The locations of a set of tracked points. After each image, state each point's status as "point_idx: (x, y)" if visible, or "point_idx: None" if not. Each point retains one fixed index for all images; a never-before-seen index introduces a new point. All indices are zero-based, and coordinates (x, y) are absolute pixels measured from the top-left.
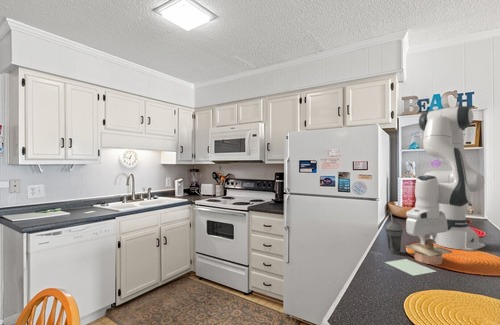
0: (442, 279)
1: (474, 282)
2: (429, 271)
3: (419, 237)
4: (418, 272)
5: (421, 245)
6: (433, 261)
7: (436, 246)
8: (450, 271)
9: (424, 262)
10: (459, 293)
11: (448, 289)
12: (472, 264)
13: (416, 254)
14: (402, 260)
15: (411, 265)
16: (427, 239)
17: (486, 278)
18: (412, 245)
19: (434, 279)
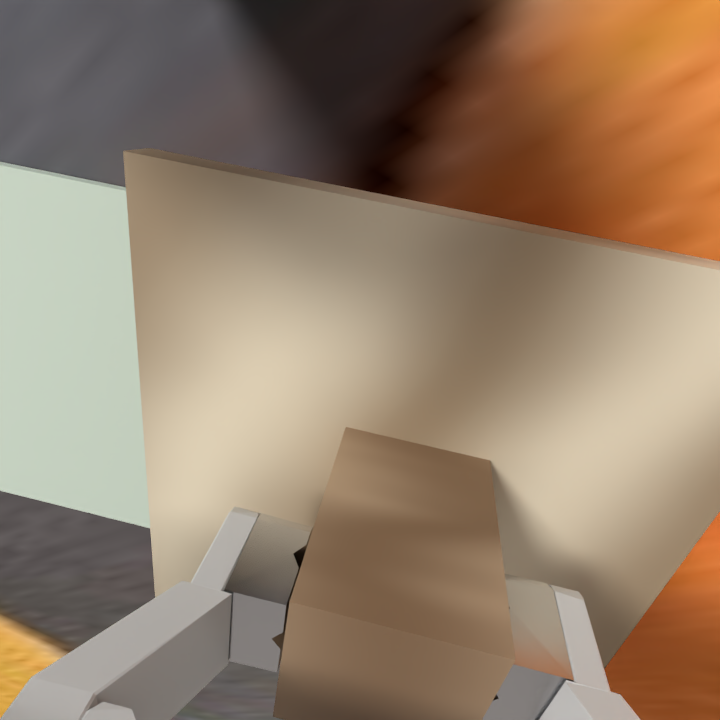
0: (109, 581)
1: (264, 683)
2: (115, 507)
3: (93, 650)
4: (7, 467)
5: (475, 363)
6: None
7: (664, 547)
8: None
9: None
10: (44, 661)
11: (25, 627)
12: (708, 638)
13: None
14: (77, 210)
15: (65, 360)
16: (323, 696)
17: None
18: (283, 250)
19: (54, 555)
